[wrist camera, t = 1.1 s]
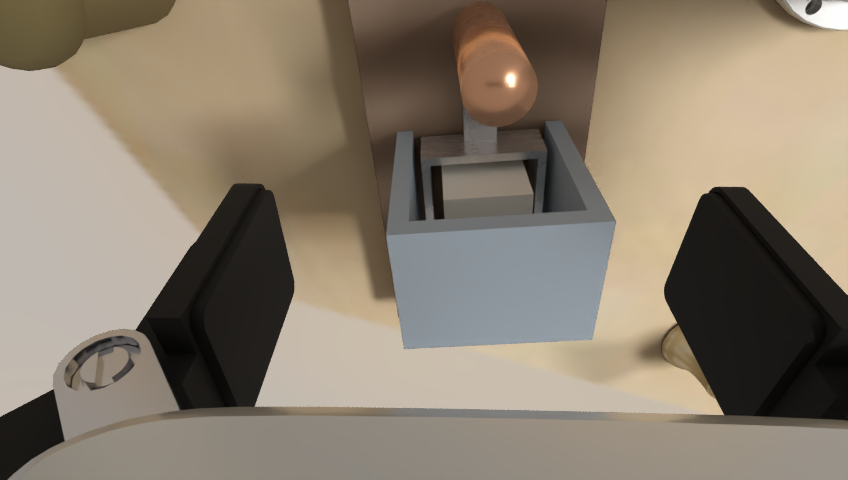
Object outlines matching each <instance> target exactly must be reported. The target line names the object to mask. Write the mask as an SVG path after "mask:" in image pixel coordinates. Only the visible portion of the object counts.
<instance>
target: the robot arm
mask: <svg viewBox="0 0 848 480" xmlns="http://www.w3.org/2000/svg"><path fill="white" fill-rule="evenodd" d="M776 1H777V2H778V3H779V4H780V5H781V6H782V7H783V8H784V10H785V11H786V12H787V13H788V14H790V15H791V16H793V17H795V18H797V19H799V20H800V21H802V22H804V23H807V24H810V25H812V26H815V27H818V28H821V29H828V30H836V31H847V30H848V0H776ZM293 294H294V278H293V274H292V270H291V265H290V261H289V257H288V253H287V249H286V244H285V240H284V236H283V232H282V228H281V224H280V219H279V215H278V211H277V207H276V203H275V198H274V195H273V193H272V191H270V190H265V188H264V186H263V185H262V184H234V185H233V186H232V187H231V189H230V190H229V192H228V193H227V195H226V196H225V198H224V200H223V201H222V203H221V204H220V206H219V207H218V209H217V210H216V212H215V213H214V215H213V216H212V218H211V219H210V221H209V222H208V224H207V226H206V227H205V229H204V230H203V232H202V233H201V235H200V236H199V238H198V239H197V241H196V242H195V243H194V244H193V245H192V246H191V247H190V249H189V250H188V251H187V253H186V254H185V256H184V258H183V259H182V261H181V262H180V263H179V265H178V267H177V268H176V270H175V271H174V273H173V274H172V276H171V277H170V279H169V280H168V282H167V283H166V285H165V286H164V288H163V289H162V291H161V292H160V294H159V295H158V297H157V298H156V300H155V302H154V303H153V304H152V306H151V307H150V309H149V311H148V312H147V314H146V315H145V317H144V318H143V320H142V321H141V323H140V324H139V326H138V327H137V329H136V330H128V329H119V330H112V331H108V332H105V333H102V334H99V335H96V336H94V337H92V338H90V339H88V340H86V341H84V342H82V343H81V344H80V345H78V346H77V347H75V348H74V349H73V350H72V351H70V352H69V353H68V354H67V355H66V356H65V357H64V359H63V360H62V361H61V362H60V363H59V365H58V367H57V369H56V371H55V373H54V375H53V388H54V389H53V390H51V391H49V392H47V393H46V394H43V395H42V396H40V397H38V398H36V399H34V400H32V401H30V402H28V403H26V404H24V405H23V406H21V407H18V408H17V409H15V410H13V411H11V412H9V413H7V414H5V415H3V416H1V417H0V480H848V295H847V294H846V293H845V292H844V291H843V290H842V289H841V288H840V287H839V286H838V285H837V284H836V283H835V282H834V281H833V279H832V278H831V277H830V276H829V275H828V274H827V273H826V272H825V271H824V270H823V269H822V268H821V267H820V266H819V265H818V263H817V262H816V261H815V260H814V259H813V258H812V257H811V256H810V255H809V254H808V253H807V252H806V251H805V250H804V249H803V248H802V246H801V245H800V244H799V243H798V242H797V241H796V240H795V239H794V238H793V237H792V236H791V235H790V234H789V233H788V232H787V230H786V229H785V228H784V227H783V226H782V225H781V224H780V223H779V222H778V221H777V220H776V219H775V218H774V217H773V216H772V214H771V213H770V212H769V211H768V210H767V209H766V208H765V207H764V206H763V205H762V204H761V203H760V202H759V201H758V200H757V198H756V197H755V196H754V195H753V194H752V193H751V192H750V191H749V190H748V189H746V188H745V187H714V188H712V189H711V190H710V191H709V193H708V194H703V195H702V196H701V198H700V200H699V202H698V204H697V207H696V209H695V212H694V214H693V217H692V219H691V222H690V224H689V227H688V229H687V232H686V234H685V236H684V239H683V241H682V244H681V246H680V249H679V251H678V254H677V256H676V259H675V261H674V264H673V266H672V269H671V271H670V274H669V276H668V278H667V281H666V283H665V287H664V295H665V299H666V302H667V304H668V306H669V308H670V310H671V312H672V314H673V316H674V318H675V319H676V321H677V323H678V325H679V327H680V329H681V331H682V333H683V335H684V337H685V339H686V341H687V343H688V345H689V347H690V349H691V351H692V353H693V355H694V357H695V359H696V361H697V363H698V364H699V366H700V368H701V370H702V372H703V374H704V376H705V378H706V380H707V382H708V384H709V386H710V388H711V390H712V392H713V394H714V396H715V398H716V400H717V402H718V404H719V406H720V408H721V409H722V411H723V413H724V415H694V414H655V413H618V412H572V411H529V410H480V409H424V408H363V407H361V408H360V407H255V403H256V401H257V398H258V395H259V392H260V389H261V386H262V384H263V381H264V378H265V375H266V372H267V369H268V366H269V363H270V361H271V358H272V355H273V352H274V349H275V346H276V343H277V340H278V337H279V335H280V332H281V329H282V326H283V323H284V320H285V317H286V314H287V311H288V309H289V306H290V303H291V300H292V297H293Z"/></svg>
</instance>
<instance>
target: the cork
mask: <svg viewBox="0 0 848 480" xmlns="http://www.w3.org/2000/svg"><path fill="white" fill-rule="evenodd" d="M174 3H175V0H0V65H2V66H5V67H8V68H12V69H19V70H26V71H33V70H41V69H46V68H52V67H56V66H58V65H60V64H61V63H63V62H64V61H66V60H67V59H69V58H70V57H72V56H73V55H74V54H76V52H77V51H78V49H79V48H80V46H81V44H82V42H83V40H84V39H87V38H92V37H96V36H100V35H105V34H109V33H113V32H118V31H122V30H127V29H131V28H135V27H140V26H144V25H148V24H153V23H156V22H158V21H159V20H161V19H162V18H164V17H165V16H167V15H168V13H169V12H170V10H171V8H172V7H173V5H174Z"/></svg>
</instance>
